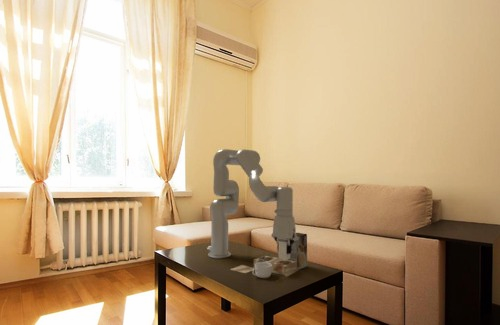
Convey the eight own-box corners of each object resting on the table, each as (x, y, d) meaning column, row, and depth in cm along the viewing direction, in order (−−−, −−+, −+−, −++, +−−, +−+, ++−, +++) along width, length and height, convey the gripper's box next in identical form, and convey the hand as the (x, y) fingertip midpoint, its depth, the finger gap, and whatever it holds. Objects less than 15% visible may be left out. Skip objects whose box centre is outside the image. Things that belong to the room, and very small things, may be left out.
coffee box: (296, 263, 149) (296, 232, 150) (307, 266, 145) (307, 233, 145) (286, 267, 142) (286, 234, 143) (297, 270, 138) (297, 236, 139)
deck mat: (230, 270, 137) (230, 269, 137) (241, 266, 144) (241, 265, 144) (245, 274, 131) (245, 273, 131) (256, 269, 139) (256, 268, 139)
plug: (278, 258, 135) (278, 236, 135) (282, 256, 138) (282, 235, 139) (286, 260, 132) (286, 237, 133) (290, 258, 136) (290, 236, 136)
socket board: (253, 269, 139) (253, 258, 139) (264, 264, 147) (264, 254, 148) (286, 277, 128) (286, 265, 129) (296, 271, 137) (297, 260, 137)
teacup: (264, 273, 134) (264, 261, 134) (275, 277, 128) (275, 265, 128) (247, 277, 128) (247, 264, 128) (258, 282, 122) (258, 269, 122)
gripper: (265, 212, 138) (265, 251, 137) (297, 215, 129) (297, 257, 128) (273, 211, 144) (273, 248, 143) (304, 213, 135) (304, 254, 134)
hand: (284, 252), depth 135 cm, fingers closed on plug, 4 cm apart
